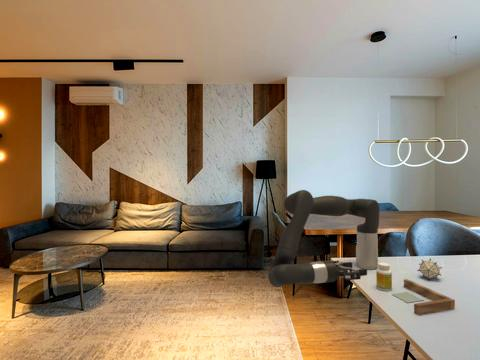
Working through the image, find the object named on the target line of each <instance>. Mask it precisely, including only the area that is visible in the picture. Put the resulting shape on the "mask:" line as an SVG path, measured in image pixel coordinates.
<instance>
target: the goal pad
mask: <svg viewBox="0 0 480 360" xmlns="http://www.w3.org/2000/svg"><path fill="white" fill-rule="evenodd" d="M391 295H392V296H394V297H396V299H398V300H401V301H403V302H405V303H406V304H411V303H417V302H418V303H419V302H425V301H424V299H422V298H420V297H418V296H416V295H415V294H413V293H410V292H408V291H405V292H397V293H392V294H391Z"/></svg>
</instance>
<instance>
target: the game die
mask: <svg viewBox="0 0 480 360" xmlns="http://www.w3.org/2000/svg"><path fill="white" fill-rule="evenodd" d="M437 263H438V262H437V261H436V262H434V261H433V260H432V258H429V259H428V260H423V259H421V263H418V265H419V269H417V272H419V273H421V274H422V277H426V278H427V280H428V281H430V279H433V278H434V279H435V278H436V279H439V278H438V277H439V276H442V274H441V272H440V271H441V269H442V268H443V267H442V266H439V265H438V264H437Z"/></svg>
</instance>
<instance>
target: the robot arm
mask: <svg viewBox="0 0 480 360" xmlns="http://www.w3.org/2000/svg"><path fill="white" fill-rule="evenodd" d="M283 207H284V209H285V210H286V212H287V213H289V214H290V215H292V217H291V220H290V221H289V223H288V224H287V226H286V228H285V229H284V231H283V232H282V235H281V237H280V240H279V243H278V245H277V248H276V254H275V256H274V258H273V260H272V263H271V265H270V268H269V269H268V270H269V271H268V275H267V277H268V278H267V279H268V281H269V283H270V285H271V286H273V287H275V288H282V287H284V286H288V285H289V286H290V285H296V284H299V285H307V284H322V283H323V284H324V283H333V282H335V281H337V280H338V278H344V280H345V281H356V280H361V277H364V276H365V277H366V276H367V275H368V270H373V271H374V270H377V269H378V268H379V267H378V263H379V249H378V247H379V241H378V240H379V239H378V238H379V237H378V229H379V226H380V205H379V202H378V200H376V199H371V198H355V199H353V198H352V199H351V198H350V199H349V198H348V199H347V198H345V197H343V196H339V195H322V196H314V197H313V194H312V193H311V192H310V191H308V190H306V189H300V190H297V191H295V192H294V193H290V194H288V196H287V197H285V199H284V202H283ZM310 215H318V216H328V217H342V216H345V215H351V216H356V217H359V218H364V223H361V224H358V225H357V226H356V245H355V265H357V267H359V269H355V268H353V267H354V266H353V262H351V261H347V262H344V261H340V260H321V261H312V262H308V263H305V262H304V263H297V264H295V263H293V261H294V260H295V259H296V256H297V250H298V247H299V243H300V239H301V237H302V236H301V235H302V234H303V231H304V228H305V226H306V223H307V221H308V219H309V216H310ZM360 268H361V269H360Z"/></svg>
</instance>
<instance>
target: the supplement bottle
mask: <svg viewBox="0 0 480 360" xmlns="http://www.w3.org/2000/svg"><path fill="white" fill-rule="evenodd" d="M375 270H376V271H375V272H376V275H375V276H376V288H377V289H378V290H381V291H385V292H389V291H392V289H393V283H392V282H393V275H392V274H393V273H392V270H391V269H390V264H389V263H386V262H378V268H377V269H375Z"/></svg>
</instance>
